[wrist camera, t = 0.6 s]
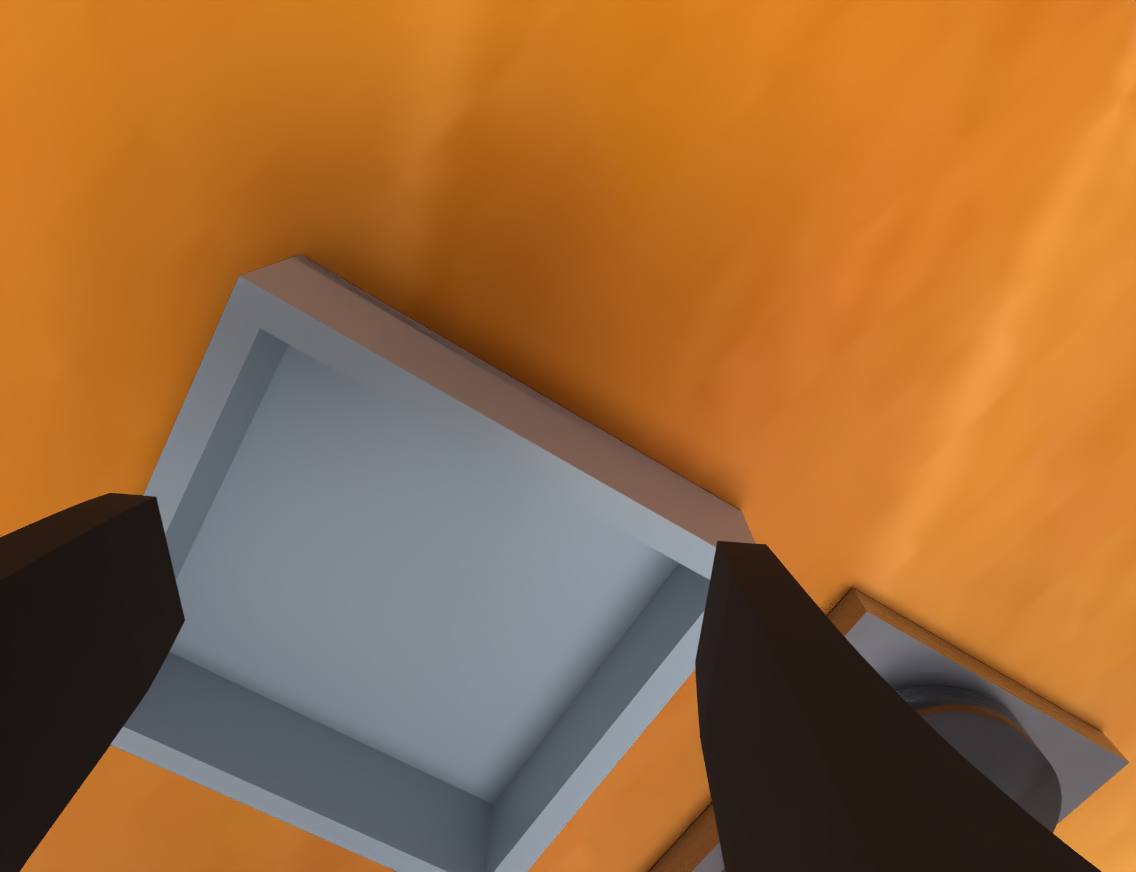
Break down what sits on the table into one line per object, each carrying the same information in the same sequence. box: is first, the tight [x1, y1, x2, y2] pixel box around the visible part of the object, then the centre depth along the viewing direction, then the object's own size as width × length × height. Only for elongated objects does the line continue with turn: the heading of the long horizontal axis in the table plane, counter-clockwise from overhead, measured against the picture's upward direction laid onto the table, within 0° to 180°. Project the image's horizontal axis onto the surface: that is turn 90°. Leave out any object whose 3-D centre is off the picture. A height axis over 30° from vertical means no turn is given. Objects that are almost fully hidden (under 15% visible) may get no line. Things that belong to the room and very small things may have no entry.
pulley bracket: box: [649, 588, 1129, 872], centre depth 23 cm, size 15×10×4 cm
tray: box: [111, 254, 755, 872], centre depth 20 cm, size 14×14×4 cm
